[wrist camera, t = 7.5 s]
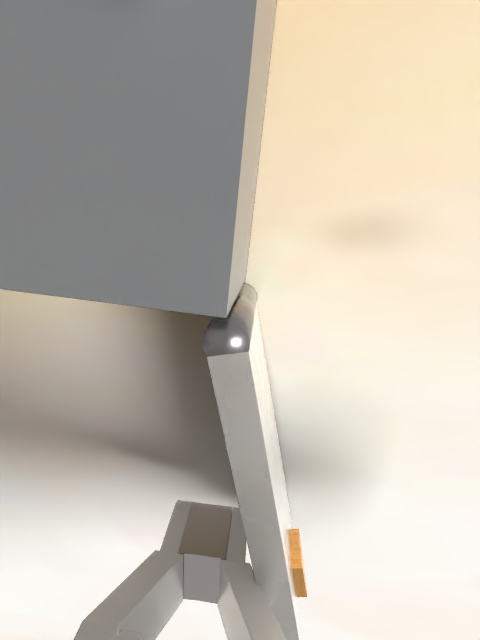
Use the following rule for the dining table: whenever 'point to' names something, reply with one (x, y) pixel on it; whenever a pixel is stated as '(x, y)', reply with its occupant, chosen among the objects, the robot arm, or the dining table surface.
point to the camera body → (131, 148)
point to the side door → (256, 456)
